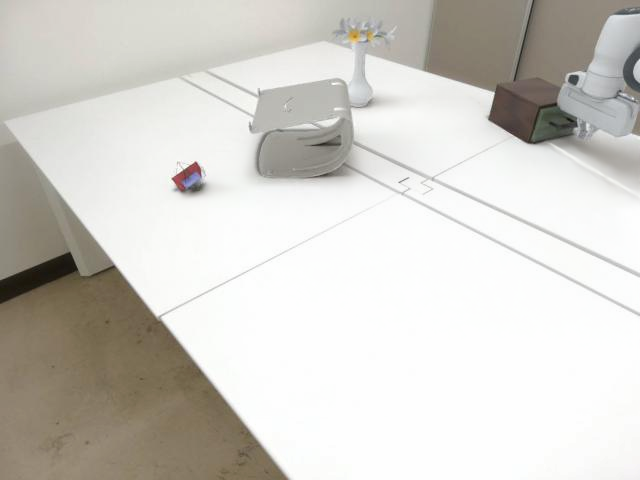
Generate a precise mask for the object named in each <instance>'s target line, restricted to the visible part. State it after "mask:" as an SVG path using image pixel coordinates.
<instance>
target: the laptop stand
mask: <svg viewBox="0 0 640 480" xmlns="http://www.w3.org/2000/svg"><path fill="white" fill-rule="evenodd" d="M347 84H348V83H347V82H346V80H344V79H343V78H340V77H334V78H328V79H322V80H315V81H309V82H304V83H297V84H292V85H285V86H280V87H273V88H268V89H263V90H260V87H258V88H257V95H258V99H257V103H256V107H255V112H254V115H253V118H252V122H251V121H248V130H249V133H250V134H252V135H254V134H255V135H256V134H260V133H265V132H266V133H267V132H271V133H269V134H267V135H266V137H265V138H264V140H263V142H262V145H261V147H260V150H259V154H258V169H259V173H260V175H261V176H263V177H265V178H269V179H270V178H272V179H305V178H312V177H318V176H322V175H325V174H329V173H330V172H333V171H335V170H337V169H338V168H340V167H341V166H342V165H343V164H344V163H345V162H346V160H347V159H348V158H349V156H350V154H351V152H352V148H353V145H354V140H355V127H354V120H353V114H352V108H351V107H352V106H351V105H350V99H349V92H348V87H347ZM334 119H338V120H336V122H335V123H333V124H331V125H329V126H327V127H324V128H321V129H316V130H311V131H310V130H309V131H277V130H281V129H287V128H291V127H297V126H301V125H302V126H303V125H308V124H312V123H318V122H322V121H328V120H334ZM275 130H276V132H272V131H275ZM339 136H340V141H341V144H340V145H322V144H324V143H328V142H329V141H332V140H334V139H336V138H338V137H339ZM320 144H321V145H320Z"/></svg>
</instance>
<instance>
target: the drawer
mask: <svg viewBox="0 0 640 480" xmlns="http://www.w3.org/2000/svg"><path fill="white" fill-rule="evenodd" d="M578 119H579V118H577V117H575V116H573V115H570V114H568V113H566V112H564V111H562V110H560V107H558V106H557V105H555V106H553V107H548V108H542V109H540V111H539V114H538V118H537V121H536V124H535V127H534V130H533V134H532V137H531V141H532V142H533V143H537V142H536V141H538V142H542V141H546V140H550V139H554V138H555V139H556V138H559V137H565V136H568V135H572V134H573V133H574V130H575V129H578V124H577V121H578ZM541 140H542V141H541Z"/></svg>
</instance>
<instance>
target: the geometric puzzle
mask: <svg viewBox="0 0 640 480" xmlns="http://www.w3.org/2000/svg"><path fill="white" fill-rule="evenodd" d="M180 163H181V161H177V163H176V165H179V167H181V169H182V170H181V171H180V172H179V173H177V172H178V169H176V170H175V169H174V171H173V172H175V171H176V172H175V175H173V176H172V177H171V178H170V180H172V181H173V183H174V184H175V185H176V187H177V188H178V190H179V191H180V192H184V191H186V189H189V188H190V187H191V186H193V185H194V186H195V188H197V189H196V190H197V192H200V190H201V187H202V183H200V185H199V187H197V185H196V183H197V182H198V181H200V180H201V181H203V178H205V177H207V172H206V169H205V168H204V166H203V165H202V164H200V163H199V162H198V161H197V160H195V161H193V163H191V164H188V163H186V165H188V166H187V167H186V168H184V167H183V166H182V165H181V164H180ZM182 164H183V165H185V162H182ZM191 191H194V189H192V188H191Z"/></svg>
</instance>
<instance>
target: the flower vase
mask: <svg viewBox="0 0 640 480" xmlns="http://www.w3.org/2000/svg"><path fill="white" fill-rule="evenodd" d="M350 19H351V17H350V16H349V17H347V19H346V20H345V18H344V17H342V18H341V19H340V21H339V28H335V29H334V30H333V31H332V32H331V35H335V36H334V37H333V41H335V40H337V39H338V38H340V37H341V39H340V43H341V44H348V43H350V49H351V51H353V52H354V56H355V57H354V68H353V74H352V77H351V80H350V81H349V83H346V84H347V87H348V92H349V99H350V107H354V108H362V107H365V106H367V105H368V103H369V102H370V101H371V100H372V99H373V97H374V90H373V87H372V86H371V84H370V83H369V82H368V80H367V77H366V53H367V48H368V44H369V43H370V45H371V47H372V48H373V49H375V48H376V45H378V46H381V45H382V42H381V40H382V39H384V43H385V45H386V49H387V53H388V54H389V53H390V50H391V44H393V43H395V35H394V34H395V31H396V29H397V27H398V25H395V26H394V27H393V29H391V30H390V31H389V32H387V31H386V30H384V29H381V28H382V27H383V21H382V19H378V20H377V21H376V22H375V20H374V18H373V17H372V16H368V20H366V21H363V22H362V21H361V18H360V17H359V15H358V14H356V15H354V17H353V20H352V21H353V24H350Z"/></svg>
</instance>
